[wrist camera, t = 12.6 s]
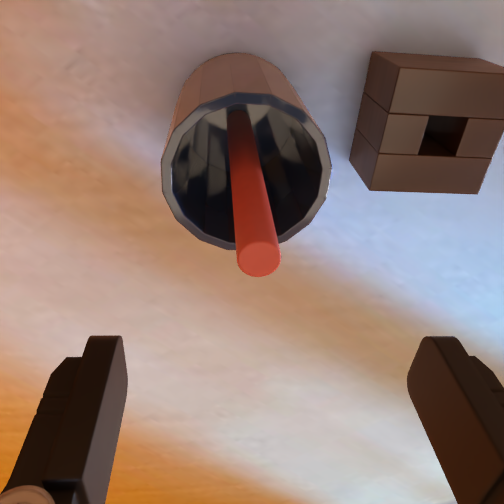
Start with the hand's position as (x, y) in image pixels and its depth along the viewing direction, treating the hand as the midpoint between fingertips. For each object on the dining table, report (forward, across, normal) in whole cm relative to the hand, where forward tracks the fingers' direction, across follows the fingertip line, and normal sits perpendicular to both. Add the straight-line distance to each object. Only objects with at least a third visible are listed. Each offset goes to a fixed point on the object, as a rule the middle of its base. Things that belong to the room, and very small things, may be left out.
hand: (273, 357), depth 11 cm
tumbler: (+21, 0, 0) cm, 21 cm away
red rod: (+21, 0, 0) cm, 21 cm away
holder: (+21, -12, -1) cm, 24 cm away
